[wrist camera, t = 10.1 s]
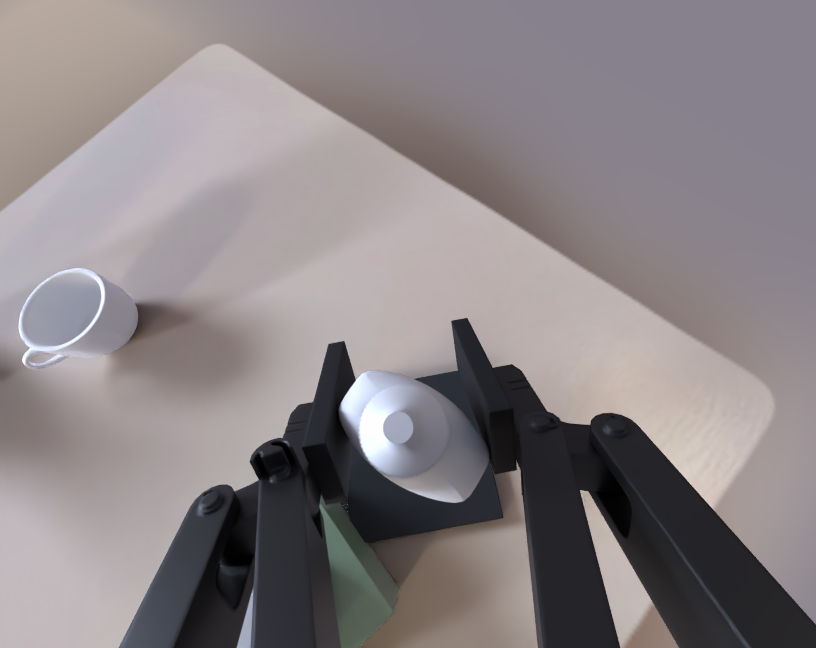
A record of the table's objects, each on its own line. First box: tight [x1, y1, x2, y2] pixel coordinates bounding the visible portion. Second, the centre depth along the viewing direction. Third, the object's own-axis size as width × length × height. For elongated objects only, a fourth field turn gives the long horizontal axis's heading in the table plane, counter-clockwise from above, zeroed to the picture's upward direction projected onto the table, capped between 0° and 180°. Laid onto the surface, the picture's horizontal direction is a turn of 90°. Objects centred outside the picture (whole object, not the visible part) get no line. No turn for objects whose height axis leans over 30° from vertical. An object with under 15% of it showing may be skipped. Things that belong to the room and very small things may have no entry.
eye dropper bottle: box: [338, 370, 490, 503], centre depth 14 cm, size 4×6×12 cm
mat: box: [348, 371, 503, 543], centre depth 30 cm, size 12×12×1 cm
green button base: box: [253, 495, 400, 648], centre depth 25 cm, size 12×10×6 cm
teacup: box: [19, 268, 138, 369], centre depth 33 cm, size 10×8×5 cm
